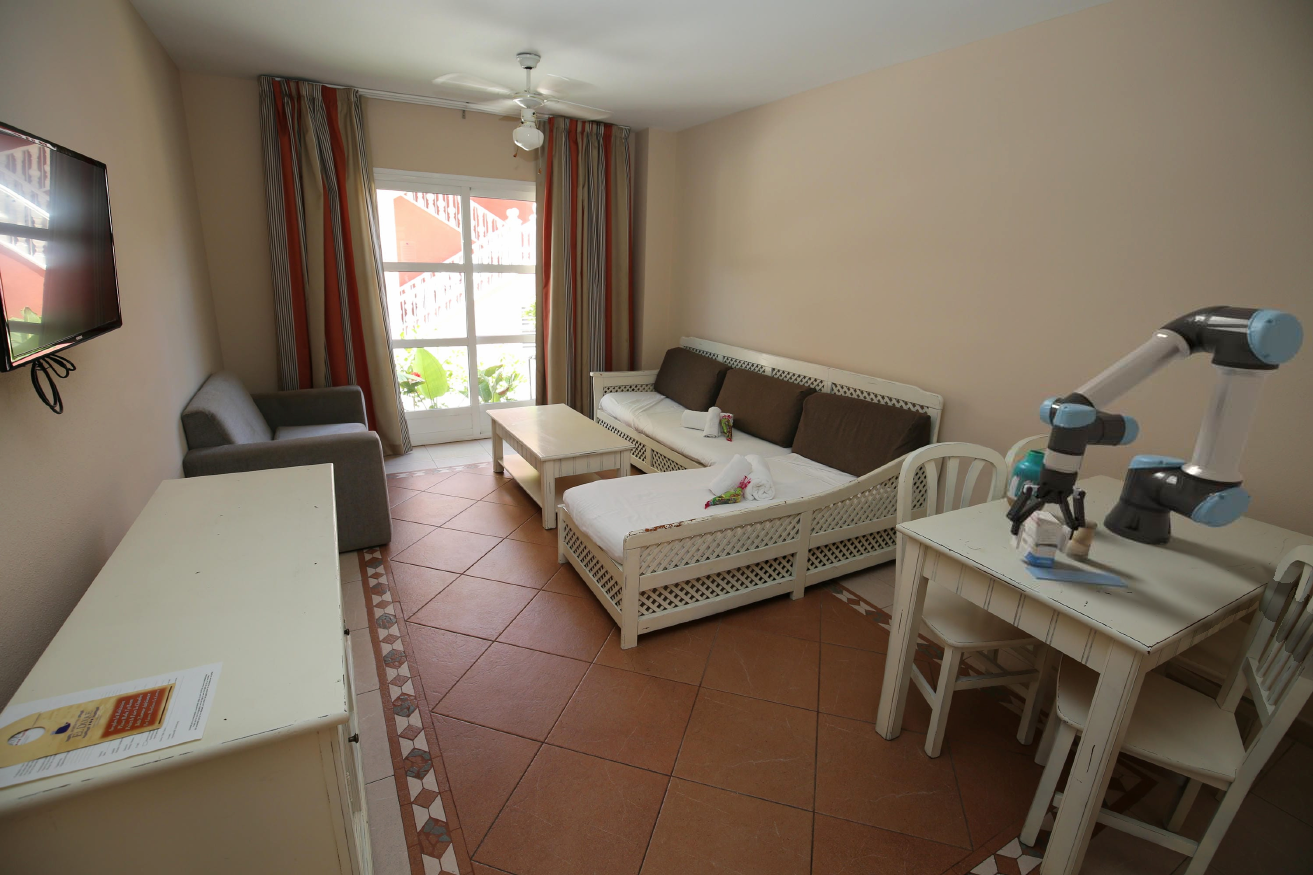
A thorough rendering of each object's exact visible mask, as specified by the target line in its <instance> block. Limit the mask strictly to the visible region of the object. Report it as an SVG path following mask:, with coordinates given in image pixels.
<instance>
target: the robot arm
mask: <svg viewBox="0 0 1313 875" xmlns="http://www.w3.org/2000/svg"><path fill="white" fill-rule="evenodd" d="M1302 324H1303V323H1302V322H1301V321H1299V319H1298V317H1296V316H1295V315H1294V314H1292V313H1290V312H1286V311H1279V310H1274V309H1269V308H1268V309H1267V308H1256V307H1255V308H1253V307H1240V306H1239V307H1238V306H1230V305H1213V306H1207V307H1201V308H1198V309H1196V310H1193V311H1191V312H1188V313H1186V314H1183V315H1181V316H1179V317H1178V318H1174V319H1173V320H1171V321H1169V322H1168V323H1166V324H1164V325H1162V326H1161V327H1160V328H1158V329H1157V330H1155V331H1154V332H1153V333H1152V335H1151V339H1149V340H1147V341H1146V342H1145V343H1143V344H1142V345H1141V346H1138V348H1136V349H1134V350H1133V351H1132V352H1129V353H1128V354H1127V355H1125V356H1124V357H1123V358H1120V360H1118V361H1117V362H1115V363H1114V364H1112V365H1111V366H1109V367H1108V368H1107V369H1105V370H1103V371H1102V372H1100V373H1099V374H1098V375H1096V376H1095V377H1093V378H1092V379H1090V380H1089V381H1087V382H1086V383H1085V384H1083V385H1081V386H1080V387H1079V388H1077V389H1076V390H1074V391H1073V392H1071V393H1070V394H1068V395H1067V396H1065V397H1054V396H1053V397H1049V398H1047V399H1046V400H1045V401H1044V402H1042V403H1041V405H1040V407H1039V410H1038V416H1039V419H1040V421H1041V422H1042V423H1045V425H1048V426H1050V427H1051V431H1050V435H1049V438H1048V443H1047V445H1046V449H1045V452H1046V453H1045V457H1044V460H1043V462H1044V464H1043V465H1042V467H1041V470H1040V474H1039V481H1038V483H1037V484H1036V485H1035V486H1034V485H1028V484H1023V487H1022V491H1021V493H1020V495H1019V496H1018V498H1017V499H1016V501H1015V502H1014V504H1013V505H1012V507H1010V509H1009V510H1008V511H1007V513H1006V515H1005V517H1006V519H1008V521H1010V522H1012V525H1011V528H1010V534H1011V535H1012V536H1011V540H1010V543H1009V545H1011V546H1012V547H1013V548H1014V549H1015V550H1019V547H1020V543H1021V540H1022V536H1023V532H1024V528H1025V525H1024V523H1025V522H1026V520H1027V519H1028V518H1029V517H1030V516H1031V515H1032V514H1033V513H1034V512H1035V511H1036V510H1037V509H1038V508H1039V507H1040V506H1043V505H1044V504H1045V503H1046V504H1049V505H1050V504H1054V505H1058V506H1059V508H1060V511H1061V512H1060V513H1061V514H1062V516H1063V519H1064V521H1065V524H1062V525H1063V528H1062V532H1061V535H1060V539H1059V543H1058V546H1057V551H1059V552H1060V553H1061V554H1066V551H1067V548H1068V547H1067V546H1068V545H1069V542H1070V540H1071V539H1072V537H1073V534H1074V531H1078V530H1079V527H1081V528H1084V527H1085V519H1086V514H1085V498H1086V494H1087V492H1086V491H1085V490H1083V489H1082V488H1079V487H1075V488H1074V486H1075V485H1076V482H1077V479H1078V476H1079V472H1078V471H1080V469H1081V467H1082V462H1083V458H1084V456H1085V452H1086V449H1087V446H1112V447H1118V446H1128V445H1130V444H1132V443H1134V441H1135V440H1136V439H1137V437H1138V435H1139V432H1140V427H1139V423H1138V422H1137V420H1136V419H1135V418H1134V417H1133V416H1131V415H1128V414H1121V413H1108V412H1105V411H1102V410H1103V409H1105V408H1106V407H1108V406H1109V405H1111V404H1112V403H1114V402H1115V401H1116V400H1118V399H1119V398H1121V397H1122V396H1125V395H1126V394H1127V393H1128V392H1130V391H1132V390H1133V389H1135V388H1136V387H1137V386H1139V385H1141V384H1143V383H1144V382H1145V381H1146V380H1148V379H1149V378H1151V377H1153V376H1154V375H1156V374H1157V373H1158V372H1160V371H1162V370H1163V369H1164V368H1166V367H1167V366H1169V365H1171V364H1172V363H1173V362H1175V361H1184V360H1185V359H1187V358H1189V357H1190V356H1192V355H1195V354H1200V353H1207V354H1211V355H1212V354H1213V355H1212V358H1211V362H1210V365H1211V366H1212V367H1213V368H1214V369H1215V370H1216V374H1215V378H1214V382H1213V384H1212V387H1211V388H1212V389H1211V391H1210V396H1209V398H1208V402H1207V406H1206V409H1205V413H1204V416H1203V419H1202V423H1201V426H1200V431H1199V434H1198V437H1197V440H1196V444H1195V448H1194V451H1193V455H1192V458H1191V461H1190V462H1188V461H1186V460H1184V459H1181V458H1176V457H1172V456H1165V455H1158V454H1157V455H1156V454H1138V455H1136V456H1134V457H1133V458H1132V460H1131V463H1130V465H1129V467H1128V468H1127V472H1126V476H1125V479H1124V483H1123V485H1122V489H1121V492H1120V495H1119V498H1118V501H1117V502H1116V504H1115V505H1114V506H1113V507H1112V509H1111V510H1110V511H1109V513H1108V514H1107V515H1106V516H1105V518H1104V521H1103V526H1104V527H1105V528H1106V529H1107V530H1108V531H1110V532H1112V533H1113V534H1116V535H1119V536H1121V537H1124V538H1126V539H1129V540H1132V541H1137V542H1140V543H1145V544H1153V545H1164V544H1168V543H1169V542H1170V540H1171V538H1172V526H1171V525H1172V524H1171V513H1172V512H1174V513H1175V514H1179V515H1180V516H1182V517H1185V518H1187V519H1189V520H1191V521H1193V522H1194V523H1198V524H1202V525H1204V526H1207V527H1209V528H1221V527H1226V526H1228V525H1231V524H1232V523H1234V522H1236V520H1238V519H1240V518H1241V517H1242V516H1243V515H1245V513H1246V511H1247V510H1248V509H1249V507H1250V504H1251V499H1252V498H1251V494H1250V493H1249V492H1248V491H1247V490H1246V489H1245V488H1243V487H1242V483H1243V480H1244V476H1243V475H1242V474H1241V473H1240V471H1239V470H1238V469H1239V464H1240V462H1241V458H1242V455H1243V454H1244V453H1243V451H1244V449H1245V446H1246V442H1247V439H1248V437H1249V433H1250V430H1251V427H1252V423H1253V421H1254V417H1255V415H1256V414H1255V413H1256V411H1257V407H1258V404H1259V401H1260V398H1261V394H1262V392H1263V388H1264V385H1265V382H1266V379H1267V377H1268V376H1269V375H1270V374H1273V373H1275V372H1276V371H1278V370H1279V368H1280V365H1281V364H1287V363H1288V362H1289V361H1291V360H1293V359H1294V357H1295V355H1296V354H1298V353H1299V351H1301V348H1302V345H1303V342H1304V336H1305V334H1304V328H1303V325H1302ZM1035 491H1036V492H1037V493H1036V494H1035V495H1034V496H1033V497H1032V500H1031V501H1030V502H1029V503H1028V504H1027V502H1028V501H1029V499H1030V498H1031V495H1032V494H1034V492H1035ZM1071 496H1072V506H1073V507H1072V508H1073V512H1072V510H1071V508H1070V502H1069V499H1068V498H1070V497H1071ZM1039 498H1040V500H1038V499H1039ZM1026 504H1027V505H1026ZM1046 504H1045V505H1046ZM1025 505H1026V506H1025Z"/></svg>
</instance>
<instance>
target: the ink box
mask: <svg viewBox="0 0 1313 875" xmlns="http://www.w3.org/2000/svg"><path fill="white" fill-rule="evenodd" d="M1063 525H1064V524H1062V523H1061V522H1060V521H1059V520H1057V519H1056V518H1055V517H1054V516H1053V515H1052V514H1051V513H1050V512H1048V511H1042V510H1041V511H1035V512H1034V513H1033V514H1032V515H1031V516H1030V517H1029V518H1028V519H1026V520H1025V528H1024V531H1023V535H1022V539H1021V542H1020V546H1019V549H1018V551H1019V552H1020V553H1021V554H1022V556H1024V557H1025V559H1026V560H1027V561H1028V562H1029V563H1030V564H1031V565H1032V566H1033V567H1035V566H1037V567H1042V568H1053V564H1054V562H1055V557H1056V553H1057V551H1058V549H1057V546H1058V543H1059V539H1060V535H1061V532H1062V528H1063Z"/></svg>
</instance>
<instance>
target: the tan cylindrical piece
mask: <svg viewBox="0 0 1313 875" xmlns="http://www.w3.org/2000/svg"><path fill="white" fill-rule="evenodd" d="M1097 528H1098V523H1096V521H1093V520H1090V519H1086V518H1085V527H1084V528H1081V527H1079V530H1078V531H1074V534H1073V537H1072V539H1071V540H1069V541H1068V545H1067V546H1068V547H1066V551H1065V555H1066V557H1067V558H1068V559H1071V560H1073V561H1076V562H1082V563H1083V562H1086V561H1087V560H1088V557H1089V552H1090V551H1091V550H1090V549H1091V547H1092V546H1091V545H1092V542H1093V540H1094V536H1095V533H1096V530H1097Z"/></svg>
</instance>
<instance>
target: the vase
mask: <svg viewBox="0 0 1313 875" xmlns="http://www.w3.org/2000/svg"><path fill="white" fill-rule="evenodd" d="M1045 453H1046V451H1044V450H1039V449H1028V451H1027V454H1026V456H1025V458H1024V459H1023V460H1020V461H1018V462H1017V463H1016V464H1015V465H1014V467H1013V469H1012V472H1011V475H1010V479H1009V481H1008V486H1007V493H1006V501H1007V502H1006V503H1007V504H1008V505H1009V507H1010V508H1011V507H1012V505H1013V504H1014V502H1015V501H1016V499H1017V498H1018V496H1019V495H1020V493H1021V491H1022V487H1023V484H1028V485H1034V486H1035V485H1036V484H1037V483H1038V481H1039V474H1040V470H1041V467H1042V465H1043V464H1044V462H1043V460H1044V457H1045ZM1036 493H1037V492H1036V491H1035V492H1034V494H1032V495H1031V498H1030V499H1029V501H1028V502H1027V504H1028V503H1029V502H1030V501H1031V500H1032V497H1033V496H1034V495H1035V494H1036ZM1038 500H1040V498H1039V499H1038ZM1027 504H1026V505H1027ZM1046 504H1047V503H1045V504H1044V505H1043V506H1040V507H1039V508H1038V509H1037V510H1036V511H1042V510H1043V509H1044V507H1045V506H1046ZM1026 505H1025V506H1026Z"/></svg>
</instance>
